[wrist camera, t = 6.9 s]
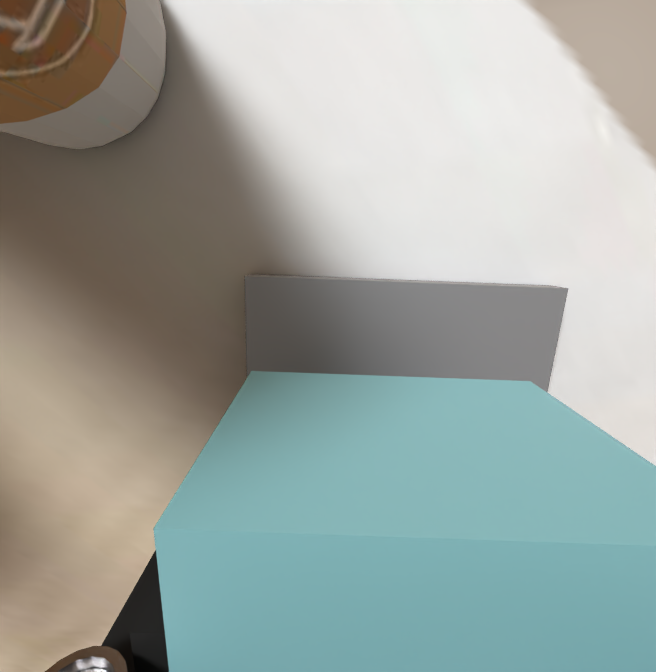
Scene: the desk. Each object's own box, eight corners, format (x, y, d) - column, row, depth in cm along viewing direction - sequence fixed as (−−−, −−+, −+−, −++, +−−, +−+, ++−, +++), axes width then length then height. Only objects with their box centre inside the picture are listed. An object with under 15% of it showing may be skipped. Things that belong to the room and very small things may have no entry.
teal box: (529, 380, 9) (858, 604, 3) (487, 597, 11) (656, 973, 5) (251, 370, 9) (122, 578, 3) (255, 589, 10) (176, 958, 5)
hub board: (486, 621, 17) (546, 765, 12) (256, 613, 17) (227, 755, 12) (549, 285, 13) (675, 306, 8) (251, 274, 13) (206, 288, 8)
